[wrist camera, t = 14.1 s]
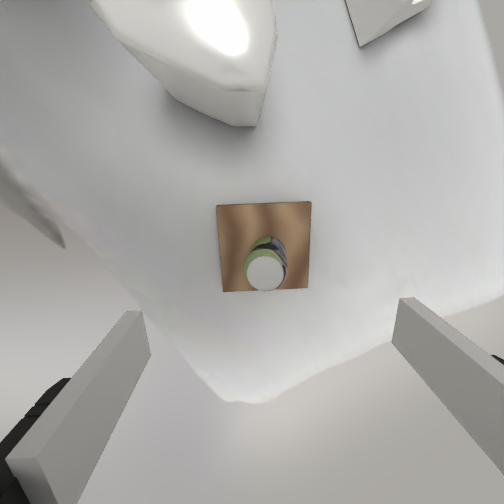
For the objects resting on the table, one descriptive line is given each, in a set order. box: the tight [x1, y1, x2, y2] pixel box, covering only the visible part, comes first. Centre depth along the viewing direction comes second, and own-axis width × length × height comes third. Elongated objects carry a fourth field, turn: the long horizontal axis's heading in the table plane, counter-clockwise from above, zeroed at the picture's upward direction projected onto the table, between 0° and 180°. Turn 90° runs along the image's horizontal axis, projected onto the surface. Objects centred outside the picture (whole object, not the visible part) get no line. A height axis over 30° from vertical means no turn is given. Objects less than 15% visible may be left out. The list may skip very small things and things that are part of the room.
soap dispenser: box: [89, 0, 277, 126], centre depth 29 cm, size 15×14×22 cm
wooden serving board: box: [216, 201, 312, 292], centre depth 46 cm, size 16×16×4 cm
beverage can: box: [244, 237, 288, 291], centre depth 38 cm, size 6×7×12 cm
